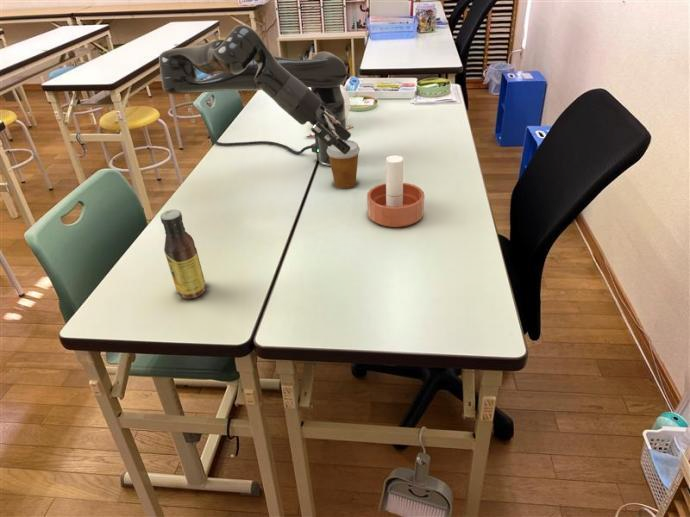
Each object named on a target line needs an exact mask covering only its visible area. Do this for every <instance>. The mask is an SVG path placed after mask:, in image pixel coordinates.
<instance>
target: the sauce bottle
mask: <svg viewBox="0 0 690 517" xmlns="http://www.w3.org/2000/svg"><path fill="white" fill-rule="evenodd" d="M159 216H160V222H161V224H162V225H163V228H164V233H165V237H164V238H165V240H164V246H163V247H164V248H163V252H164V254H165V258H166V261H167V264H168V267H169V271H170V275H171V277H172V280H173V284H174V287H175V290H176V292H177V294H178V295H179V297H181V298H182V299H187V300H190V299H195V298H198V297H200V296H202V295H203V294H204V292H205V291H206V281H205V276H204V273H203V272H204V271H203V269H202V265H201V261H200V257H199V253H198V251H197V247H196V244H195V240H194V238H193V236H192V235H190V234H189V233H188V232H187V231H186V228H185V225H184V222H183V215H182V211H181V210H179V209H176V208H175V209H174V208H173V209H167V210H165V211H163V212H162V213H161V214H160V215H159Z"/></svg>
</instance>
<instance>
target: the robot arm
mask: <svg viewBox="0 0 690 517" xmlns="http://www.w3.org/2000/svg"><path fill="white" fill-rule="evenodd" d="M158 66H159V73H160V80H161V86H162V87H161V88H162V90H163V92H164V93H166V94H169V95H190V94H201V93H212V92H225V91H232V92H233V91H262V92H263V93H265V94H266V95H267V96H268V97H269V98H270V99H272V101H274V102H275V103H276V104H277V105H278V106H279V108H281V109H282V110H283V111H284V112H285V113H286V114H288V115H289V116H290V117H291V118H293V119H294V121H296V122H297V123H298V124H300V125H305V124H307V122H309V123H310V124H311V126H312V127H311V128H310V131H311V132H312V133H313V135H315V137H314V143H312V144H311V145H307V146H304V147H303V148H301V149H300V150H299V151H296V150H294V149H292V147H291V148H290V147H289V146H288V145H285V144H282V143H279V142H275V141H270V140H269V141H268V140H256V141H254V140H253V141H239V142H219V141H217V140H216V139H215V137H214V136H213V135H212V134H209V135H208V136H207V137H206V138H207V140H211V142H212V143H214V144H215V145H217V146H223V147H230V146H231V147H232V146H250V145H272V146H276V147H280V148H283V149H286V150H287V151H288V152H290V153H292V154H294V155H301V154H303V153H304V152H306V151H307V150H310V149H311V153H314V154H316V161H317V162H318V163H319V164H320V165H322V166H326V167H331V164H330V159H329V155H328V153H327V149H328V146H329V147H330V146H331V145H334V146H335V147H336V148H337V149H339V150H340V151H341V152H342V153H343V154H347V152H348V151H349V150H350V146H349V145H348V144H347V143H346V142H344V141H343V140H345V141H347V140H350V138H351V136H352V134H351V132H350V131H349V130H346V129H347V122H346V121H347V120H346V119H345V101H344V98H343V95H342V93H341V89H340V85H341V84H343V83H344V82H345V81H346V79H347V76H348V69H347V65H346V64H345V62H344V61H343V60H342V59H341V58H340V57H339V56H337V55H335V54H333V53H332V52H329V51H319V52H317V53H316V54H314V55H313V56H312V58H311V59H293V58H287V57H281V56H276V55H273V54H272V52H271V51H270V49H269V48H268V46H267V45H266V44H265V42H264V40H263V39H262V38H261V36H260V35H259V33H257V32H256V31H255V29H253V28H252V27H250V26H249V25H246V24H237V25H235V27H233V28H232V30H231V31H230V32H229V34H227V36H226V37H225V39H222V38H221V39H214V40H212V41H209V42H207V43H204V44H201V45H193V46H192V45H191V46H184V47H177V48H171V49H167V50H163V51H162V52H161V53H160V54H159V57H158ZM197 70H198V71H199V72H201V73H202V74H205V75H212V76H210V77H208V78H205V79H201V80H198V74H197ZM310 88H311V90H310Z"/></svg>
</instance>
